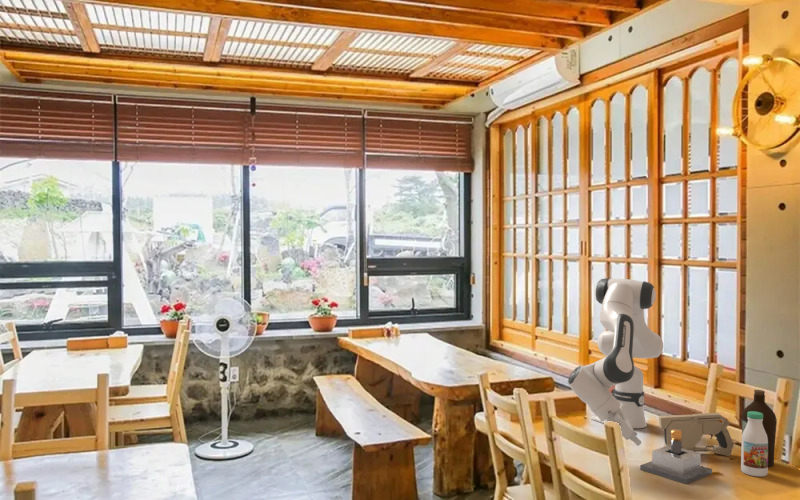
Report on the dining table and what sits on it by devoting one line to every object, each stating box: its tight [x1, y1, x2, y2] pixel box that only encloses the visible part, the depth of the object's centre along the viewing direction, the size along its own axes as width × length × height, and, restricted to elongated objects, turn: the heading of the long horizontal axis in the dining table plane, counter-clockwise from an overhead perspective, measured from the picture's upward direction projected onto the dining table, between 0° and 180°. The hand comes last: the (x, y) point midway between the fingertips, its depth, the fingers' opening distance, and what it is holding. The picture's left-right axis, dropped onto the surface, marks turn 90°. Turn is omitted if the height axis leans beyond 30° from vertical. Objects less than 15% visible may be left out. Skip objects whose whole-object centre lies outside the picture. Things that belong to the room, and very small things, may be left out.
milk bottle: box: [740, 411, 769, 477], centre depth 213 cm, size 8×8×20 cm
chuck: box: [639, 445, 713, 485], centre depth 213 cm, size 16×16×6 cm
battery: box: [671, 429, 682, 456], centre depth 213 cm, size 3×3×12 cm
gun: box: [658, 412, 734, 457], centre depth 232 cm, size 24×3×15 cm, turn 84°
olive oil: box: [741, 389, 778, 468], centre depth 223 cm, size 11×11×25 cm
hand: (637, 439), depth 216 cm, fingers open, 8 cm apart
